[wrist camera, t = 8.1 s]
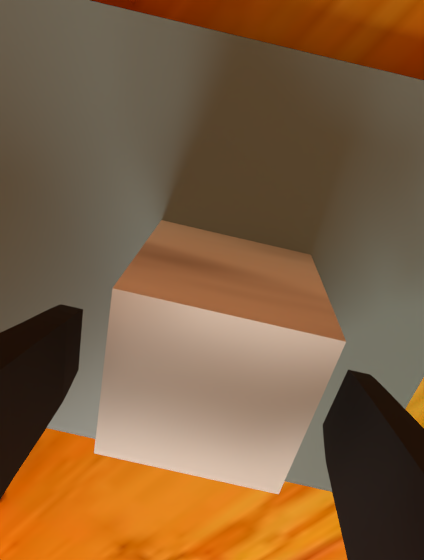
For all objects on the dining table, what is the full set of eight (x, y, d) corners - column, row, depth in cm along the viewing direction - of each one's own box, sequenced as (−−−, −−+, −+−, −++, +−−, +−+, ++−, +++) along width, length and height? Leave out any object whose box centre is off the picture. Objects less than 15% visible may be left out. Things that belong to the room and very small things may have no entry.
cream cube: (269, 373, 15) (278, 494, 10) (141, 344, 15) (94, 453, 10) (310, 254, 13) (346, 341, 8) (161, 220, 12) (112, 288, 8)
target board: (348, 473, 18) (354, 496, 17) (17, 399, 18) (2, 418, 17) (543, 114, 11) (574, 116, 10) (11, -13, 11) (-14, -25, 10)
